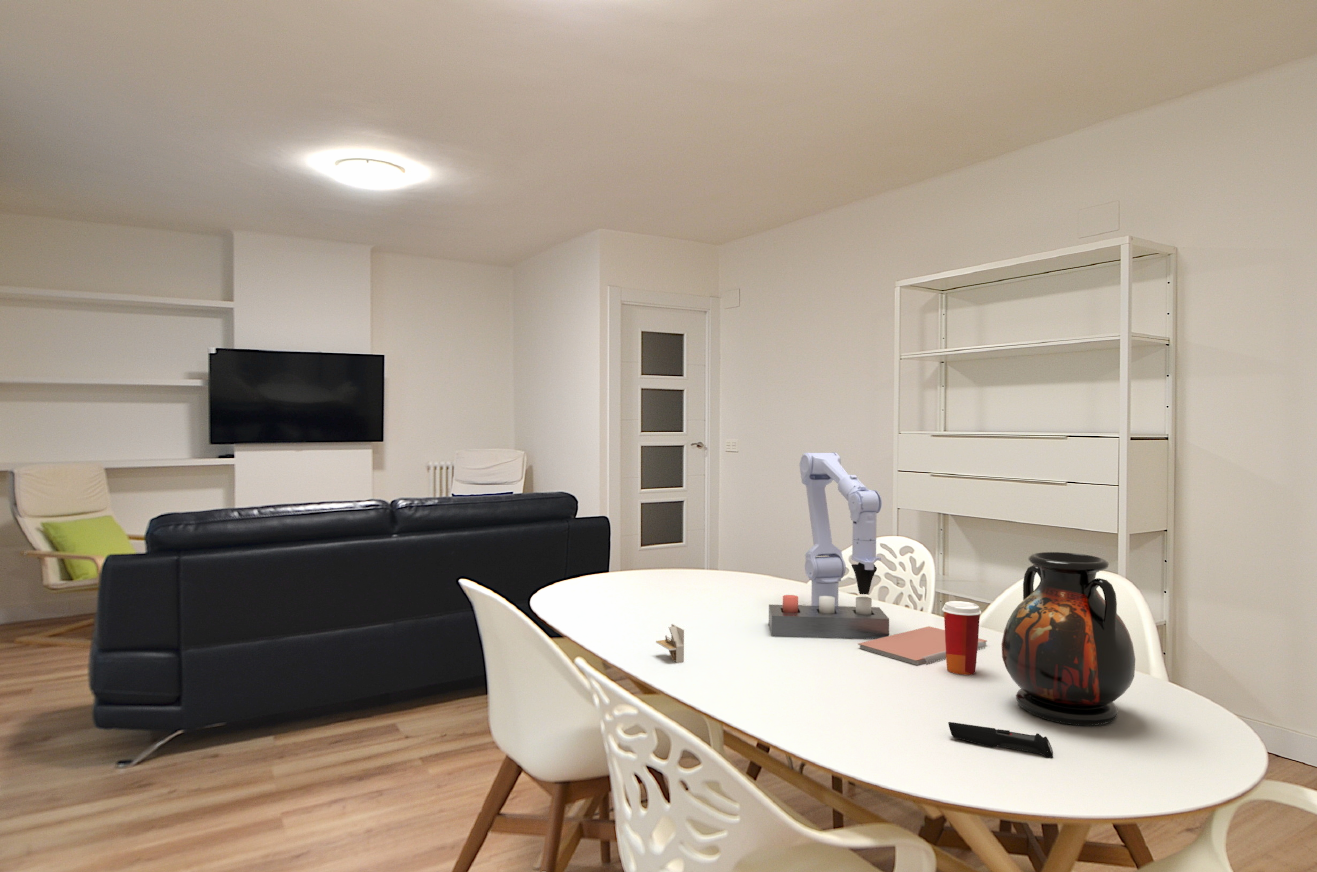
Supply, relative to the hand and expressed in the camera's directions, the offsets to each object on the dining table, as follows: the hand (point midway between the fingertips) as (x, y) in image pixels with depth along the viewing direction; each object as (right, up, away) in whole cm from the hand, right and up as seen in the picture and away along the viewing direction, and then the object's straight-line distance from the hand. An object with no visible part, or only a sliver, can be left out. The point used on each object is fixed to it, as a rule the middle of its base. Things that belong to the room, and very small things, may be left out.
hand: (863, 593), depth 195 cm
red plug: (-18, -6, +2) cm, 19 cm away
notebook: (+11, -11, -13) cm, 20 cm away
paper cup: (+13, -10, -30) cm, 34 cm away
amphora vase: (+23, -11, -53) cm, 59 cm away
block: (-9, -10, +1) cm, 13 cm away
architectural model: (-48, -10, -23) cm, 54 cm away
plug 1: (-9, -6, +1) cm, 11 cm away
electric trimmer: (+4, -11, -69) cm, 70 cm away
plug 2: (0, -6, 0) cm, 6 cm away
